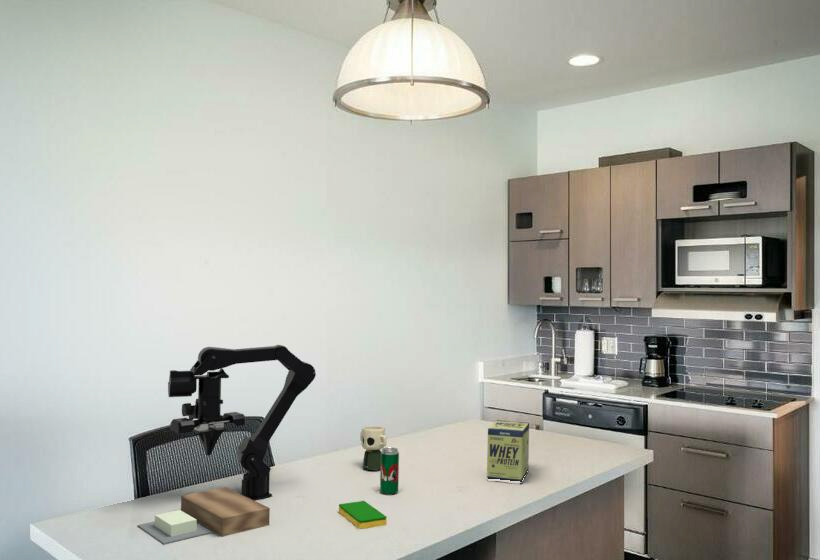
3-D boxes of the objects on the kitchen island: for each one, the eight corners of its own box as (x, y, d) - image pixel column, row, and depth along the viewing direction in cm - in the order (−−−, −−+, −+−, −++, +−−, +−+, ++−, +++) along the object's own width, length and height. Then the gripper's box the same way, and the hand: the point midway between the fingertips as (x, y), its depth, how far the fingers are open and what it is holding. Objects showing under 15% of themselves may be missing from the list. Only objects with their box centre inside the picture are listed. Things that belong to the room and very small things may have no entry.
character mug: (352, 468, 217) (352, 426, 217) (368, 464, 222) (368, 423, 223) (377, 474, 210) (378, 431, 210) (393, 470, 215) (393, 428, 215)
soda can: (400, 490, 194) (401, 447, 194) (395, 496, 189) (396, 451, 189) (383, 489, 195) (384, 446, 195) (377, 494, 190) (378, 450, 190)
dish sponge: (364, 509, 178) (364, 500, 178) (387, 526, 166) (387, 516, 166) (338, 513, 175) (338, 503, 175) (359, 531, 162) (359, 520, 162)
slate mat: (183, 516, 169) (183, 515, 169) (211, 533, 158) (211, 531, 158) (137, 526, 162) (137, 524, 162) (164, 544, 151) (164, 543, 151)
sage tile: (155, 515, 161) (154, 525, 161) (171, 525, 155) (171, 536, 155) (179, 509, 165) (179, 520, 165) (196, 519, 159) (196, 530, 159)
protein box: (486, 481, 205) (487, 428, 205) (495, 468, 220) (496, 419, 220) (521, 485, 202) (522, 431, 202) (529, 471, 216) (529, 421, 217)
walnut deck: (225, 502, 180) (225, 487, 181) (269, 524, 164) (269, 507, 164) (180, 512, 172) (181, 495, 172) (222, 536, 156) (222, 518, 156)
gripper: (227, 388, 194) (226, 444, 194) (162, 394, 181) (160, 454, 181) (247, 393, 186) (246, 452, 186) (180, 400, 173) (178, 463, 173)
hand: (208, 455), depth 182 cm, fingers closed
